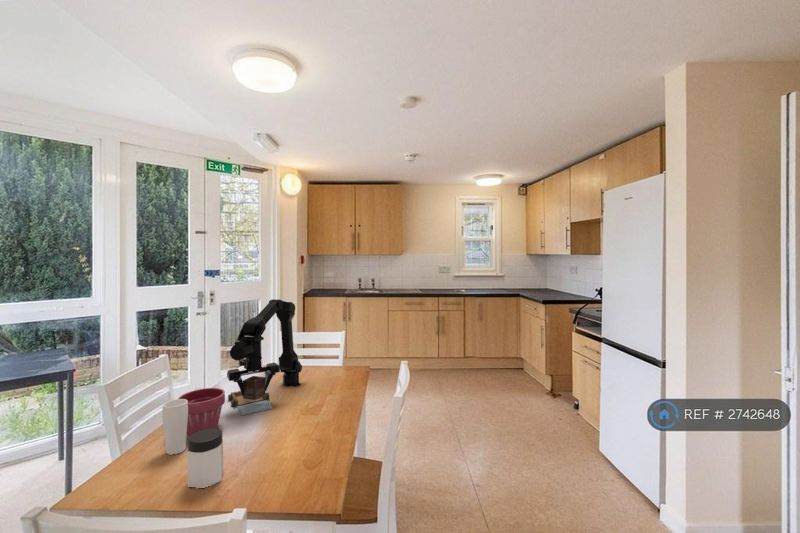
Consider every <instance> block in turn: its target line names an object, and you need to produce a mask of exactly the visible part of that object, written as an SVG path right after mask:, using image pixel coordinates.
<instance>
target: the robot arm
mask: <svg viewBox="0 0 800 533" xmlns="http://www.w3.org/2000/svg"><path fill="white" fill-rule="evenodd" d="M275 315H276V318H277V319H278V321H279V322H280V333H281V346H282V347H281V348H282V353H281V354H280V355H279V357H278V364H277V363H276V362H271V363H270V362H269V363H267V364H266V365H265V366H262V364H263V363H262V359H263V357H262V341H264V340H265V337H264V336H262V335H263V334H264V333H265V331H266V328H267V327H266V326H267V324H268V322H269V321H271V319H272V318H273V316H275ZM295 315H296V304H295V303H294V302H293V301H284V300H282V299H270V300H269V301H268V304H267V305H266V306H265V307H264V308H263V309H261V311H260V312H259V313H258V314H257V315H256V316H255V317H252V318H249V319H248V320H246V321H245V322H243V324H242V326H241V330H240V332H239V334H238V337H237V339H236V341H234V345H233V346H232V347H231V348H230V351H229V354H230V357H231V358H232V360H234V361H236V362H237V361H238V367H243V370H240V369H239V368H235V369H228V370H227V372H226V378H227V380H228V381H230V382H233V383H237V385H238V388H239V391H241V393H242V395H244V389H243V380H244V379H243V378H242V376H249V375H253V374H254V375H255V374H260V373H264V375H265V376H264V377H265V392H266V391H267V390H268V388H269V386H270V382H271V380H272V379H273V377H274V376H275V375H276V373H283V375H282V384H283V385H284V386H285V387H292V386H293V387H297V386H300V385H301V383H300V373H301V372H302V371H303V365H302V364H301V362H300V361H299V356H298V354H297V353H296V351H295V350H294V336H293V318H294V317H295ZM244 369H245V370H244Z"/></svg>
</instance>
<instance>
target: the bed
mask: <svg viewBox="0 0 800 533" xmlns="http://www.w3.org/2000/svg"><path fill="white" fill-rule="evenodd" d="M227 400H228V402H230V406H231V407H232V408H233V410H234V409H237V406H241V405H246V404H251V403H255V402H260V401H265V400H266V401H267V402H270V400H271V399H270V394H269V392H265V396H263V397H261V398H259V399H257V400H251V399H243V395H242V393H241V391H240V390H237V391H233V392H230V394H228V396H227Z"/></svg>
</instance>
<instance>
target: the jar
mask: <svg viewBox="0 0 800 533" xmlns="http://www.w3.org/2000/svg"><path fill="white" fill-rule="evenodd" d="M187 449H188V450H187V452H186V459H187V468H186V469H187V488H189V487H196V488H195V489H198V488H205V487H207V488H209V487H211V486H213V485H216V484H218V483H220V482H222V479H223V475H224V439H223V431H222V430H221V429H219V428H217V429H205V430H201V431H198V432H196V433H194V434H192V435H191V436H190V437H189V436H188V439H187ZM208 486H209V487H208ZM205 489H206V488H205Z"/></svg>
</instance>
